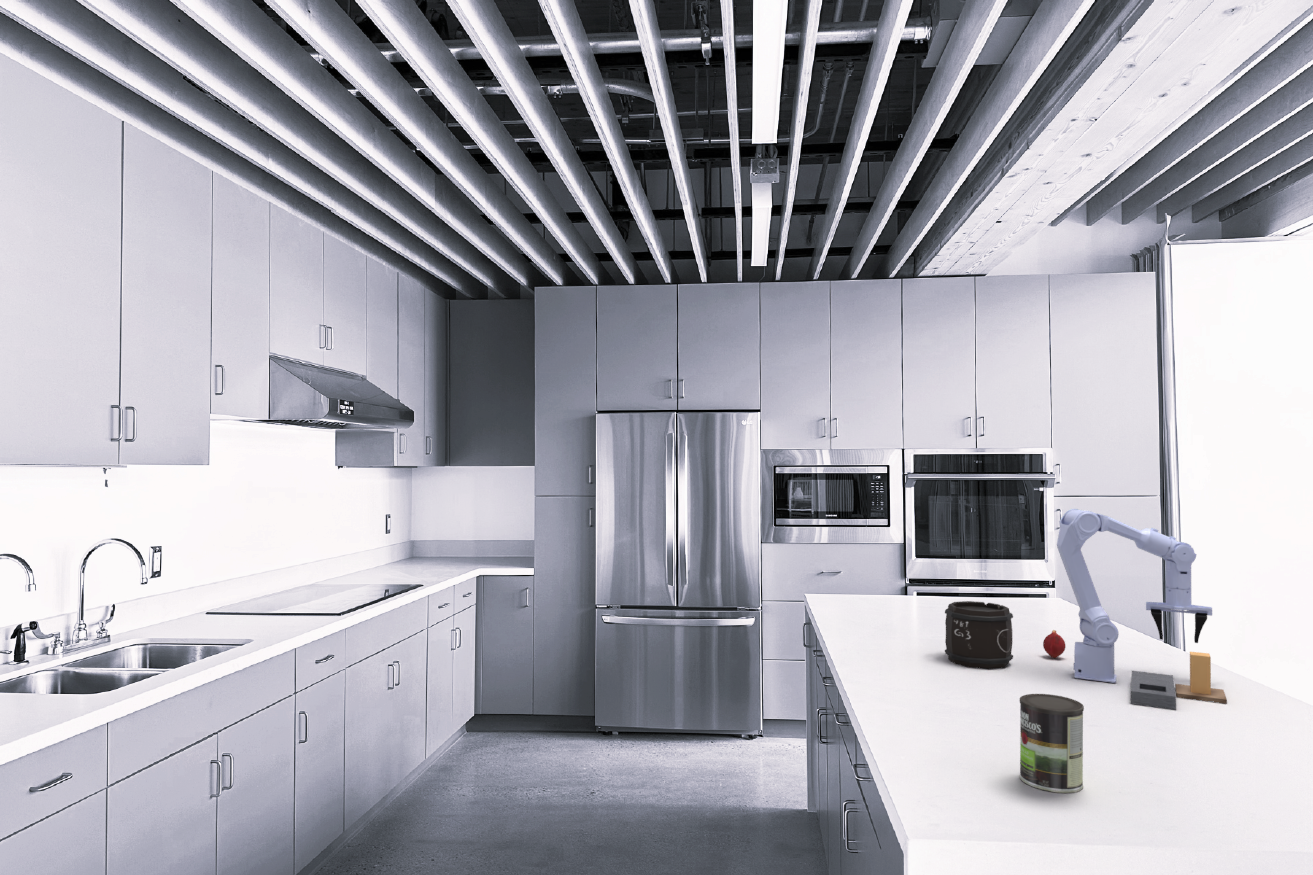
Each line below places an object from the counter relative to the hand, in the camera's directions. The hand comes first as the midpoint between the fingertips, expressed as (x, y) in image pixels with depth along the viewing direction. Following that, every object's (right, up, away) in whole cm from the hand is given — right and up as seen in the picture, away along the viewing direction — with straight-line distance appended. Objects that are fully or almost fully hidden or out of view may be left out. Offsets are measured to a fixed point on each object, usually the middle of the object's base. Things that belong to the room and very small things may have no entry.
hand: (1178, 640), depth 216 cm
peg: (-3, -9, -14) cm, 17 cm away
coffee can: (-65, -9, -69) cm, 95 cm away
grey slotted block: (-15, -10, -14) cm, 22 cm away
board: (-3, -10, -13) cm, 17 cm away
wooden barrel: (-45, -11, +19) cm, 50 cm away
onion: (-21, -11, +23) cm, 33 cm away
